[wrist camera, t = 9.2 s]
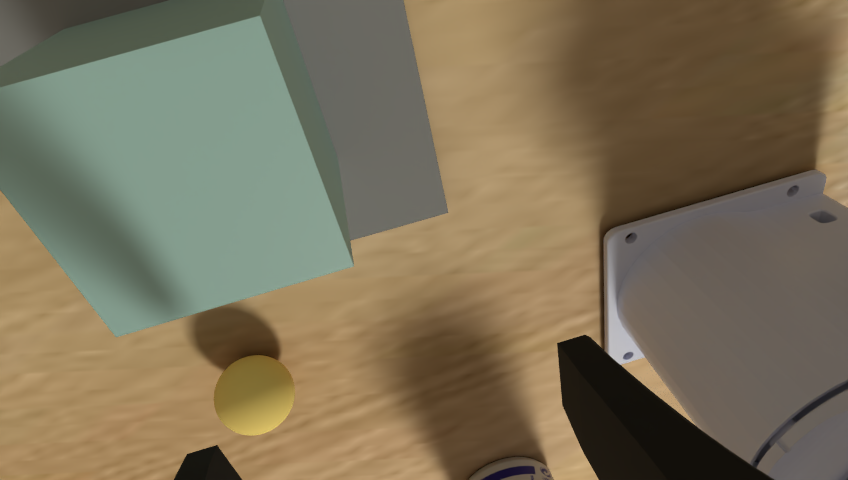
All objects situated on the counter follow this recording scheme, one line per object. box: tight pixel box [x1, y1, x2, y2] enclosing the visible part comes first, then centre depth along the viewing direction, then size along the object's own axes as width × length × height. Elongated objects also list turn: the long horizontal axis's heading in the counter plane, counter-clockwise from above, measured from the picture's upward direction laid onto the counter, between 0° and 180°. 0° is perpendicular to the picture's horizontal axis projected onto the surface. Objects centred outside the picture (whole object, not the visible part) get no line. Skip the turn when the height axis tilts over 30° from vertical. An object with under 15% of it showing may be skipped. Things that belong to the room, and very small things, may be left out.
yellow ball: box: [214, 355, 295, 435], centre depth 21 cm, size 3×3×3 cm
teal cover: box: [0, 0, 354, 337], centre depth 13 cm, size 6×6×6 cm
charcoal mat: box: [0, 0, 448, 241], centre depth 16 cm, size 12×12×1 cm
